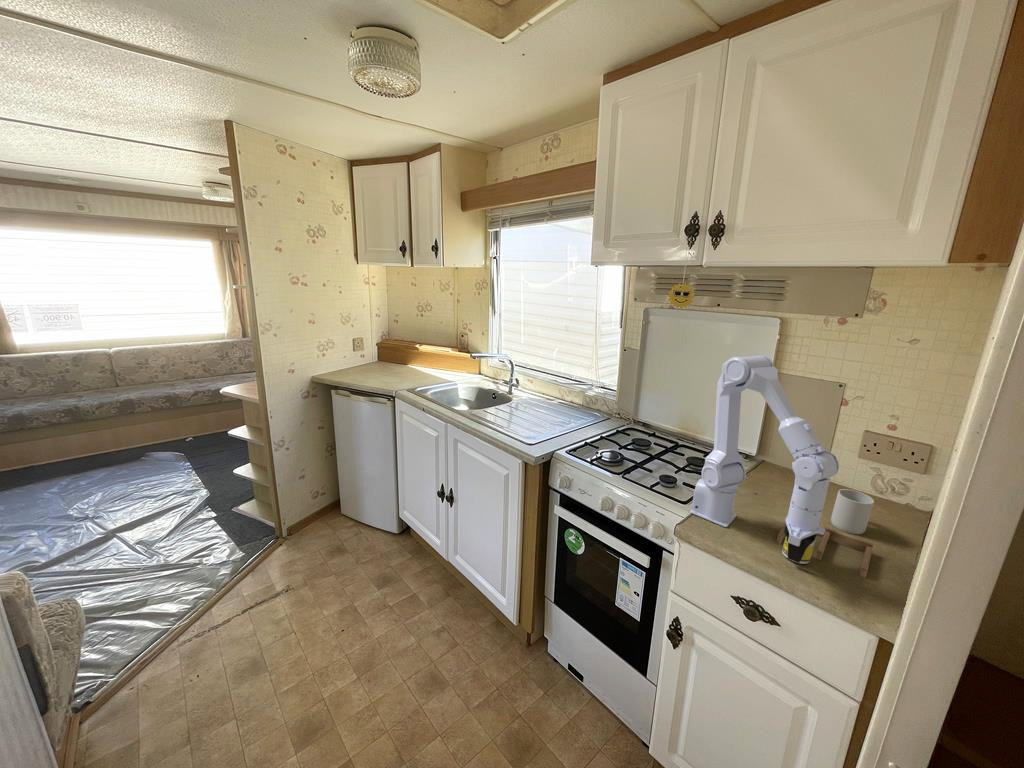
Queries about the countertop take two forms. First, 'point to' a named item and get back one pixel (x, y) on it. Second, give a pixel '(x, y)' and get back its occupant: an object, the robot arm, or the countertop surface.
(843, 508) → the cup
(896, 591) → the countertop surface
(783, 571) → the countertop surface
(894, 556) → the countertop surface
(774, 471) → the countertop surface
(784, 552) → the supplement bottle
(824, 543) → the rack
